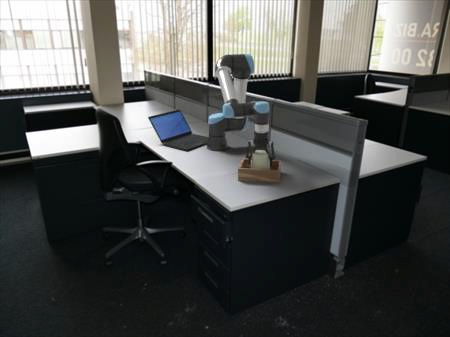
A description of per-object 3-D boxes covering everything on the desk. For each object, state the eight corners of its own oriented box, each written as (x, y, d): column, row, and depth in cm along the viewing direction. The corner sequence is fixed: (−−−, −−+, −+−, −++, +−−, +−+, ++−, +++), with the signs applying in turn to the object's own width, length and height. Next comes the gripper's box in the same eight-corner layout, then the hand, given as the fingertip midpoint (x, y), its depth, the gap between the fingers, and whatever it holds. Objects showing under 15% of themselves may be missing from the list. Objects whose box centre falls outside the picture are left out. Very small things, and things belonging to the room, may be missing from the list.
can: (250, 169, 198) (251, 149, 194) (267, 168, 198) (267, 148, 194) (252, 175, 189) (253, 154, 185) (269, 175, 190) (270, 154, 185)
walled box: (242, 169, 204) (242, 158, 202) (280, 171, 200) (281, 160, 198) (238, 180, 189) (238, 168, 187) (279, 183, 185) (280, 171, 183)
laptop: (187, 152, 235) (185, 124, 228) (149, 142, 256) (147, 116, 249) (217, 140, 260) (217, 115, 253) (181, 132, 281) (179, 108, 274)
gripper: (240, 132, 184) (239, 171, 192) (281, 134, 180) (279, 174, 188) (242, 128, 191) (241, 166, 199) (282, 130, 187) (279, 169, 195)
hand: (260, 170), depth 194 cm, fingers closed on can, 9 cm apart
